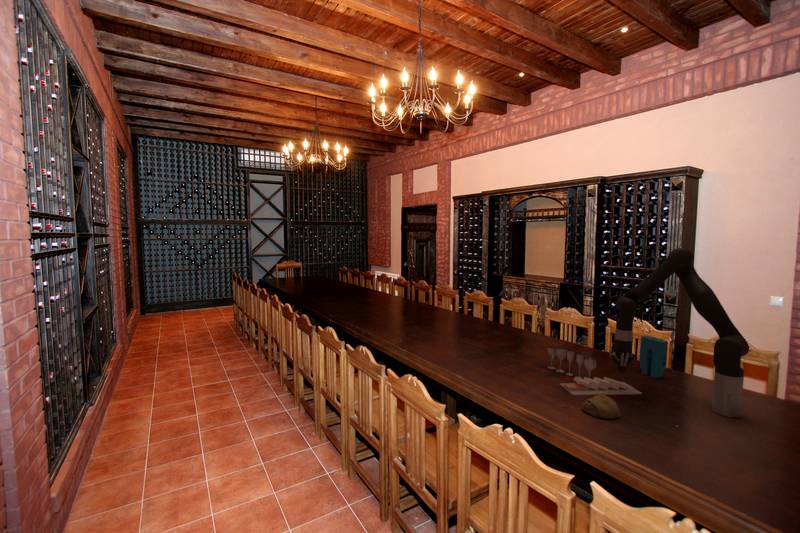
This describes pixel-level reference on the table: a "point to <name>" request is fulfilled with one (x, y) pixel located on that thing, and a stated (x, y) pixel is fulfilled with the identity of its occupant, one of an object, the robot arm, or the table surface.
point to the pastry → (601, 407)
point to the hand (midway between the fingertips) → (621, 372)
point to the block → (653, 356)
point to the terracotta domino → (575, 387)
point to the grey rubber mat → (605, 391)
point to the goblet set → (570, 359)
